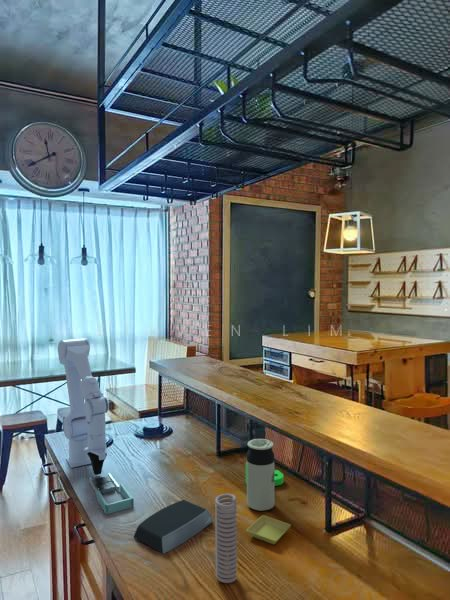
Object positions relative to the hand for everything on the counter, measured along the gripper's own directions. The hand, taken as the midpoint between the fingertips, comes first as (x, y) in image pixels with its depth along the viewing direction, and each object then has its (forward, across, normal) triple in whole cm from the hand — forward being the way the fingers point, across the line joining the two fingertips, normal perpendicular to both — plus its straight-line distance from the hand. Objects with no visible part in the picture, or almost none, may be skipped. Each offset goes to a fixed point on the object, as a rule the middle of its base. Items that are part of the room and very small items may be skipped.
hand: (97, 473), depth 144 cm
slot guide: (+1, +8, 0) cm, 8 cm away
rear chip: (+1, +7, 0) cm, 7 cm away
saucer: (+2, +56, +30) cm, 63 cm away
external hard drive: (+2, +41, +10) cm, 43 cm away
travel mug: (+1, +43, +36) cm, 56 cm away
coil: (+1, +64, +12) cm, 66 cm away
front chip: (+1, +11, 0) cm, 11 cm away
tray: (+1, +19, 0) cm, 19 cm away
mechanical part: (+2, +32, +46) cm, 56 cm away
